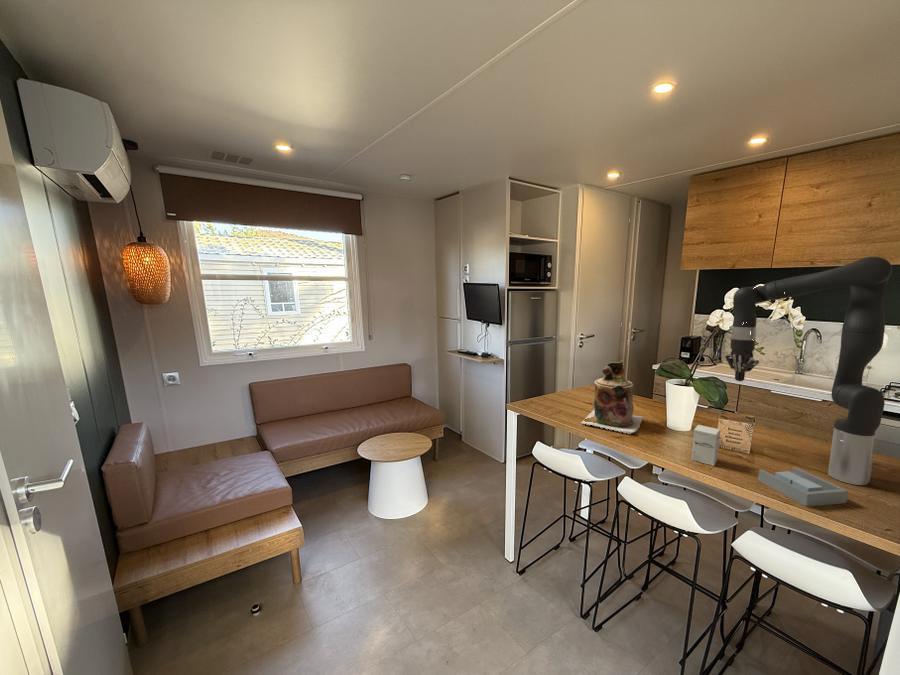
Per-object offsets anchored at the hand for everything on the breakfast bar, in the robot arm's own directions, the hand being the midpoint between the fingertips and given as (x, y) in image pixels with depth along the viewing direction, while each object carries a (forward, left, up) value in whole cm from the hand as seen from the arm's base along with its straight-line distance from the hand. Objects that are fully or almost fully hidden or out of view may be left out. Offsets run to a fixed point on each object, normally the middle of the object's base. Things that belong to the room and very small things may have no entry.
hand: (739, 380), depth 143 cm
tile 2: (+6, +32, -29) cm, 44 cm away
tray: (+6, +30, -29) cm, 42 cm away
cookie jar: (+32, -35, -29) cm, 56 cm away
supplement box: (+19, +7, -29) cm, 36 cm away
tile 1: (+6, +28, -29) cm, 41 cm away
